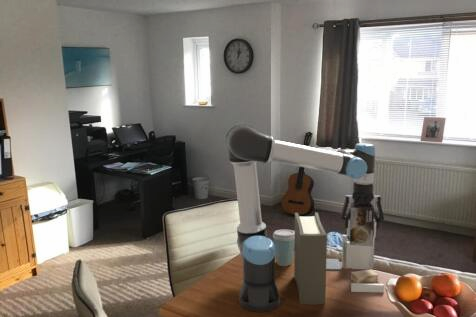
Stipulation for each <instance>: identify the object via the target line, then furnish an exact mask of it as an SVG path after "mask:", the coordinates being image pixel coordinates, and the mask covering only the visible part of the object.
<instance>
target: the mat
mask: <svg viewBox="0 0 476 317" xmlns="http://www.w3.org/2000/svg"><path fill="white" fill-rule="evenodd" d="M326 271H342V265H341V263H340V260H339V258H326Z"/></svg>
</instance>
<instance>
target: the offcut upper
mask: <svg viewBox="0 0 476 317" xmlns="http://www.w3.org/2000/svg"><path fill="white" fill-rule="evenodd" d="M350 274H351V275H350V277H351V279H352V280H353V281H354V282H355V283H369V282H375V281H379V273H377V272H376V271H374V269H362V270H358V271H352V272H350Z"/></svg>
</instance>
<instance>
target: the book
mask: <svg viewBox="0 0 476 317" xmlns="http://www.w3.org/2000/svg"><path fill="white" fill-rule="evenodd" d="M319 214H320V213H319V212H314V215H313V216H301V215H299V212H294V231H295V247H294V256H293V257H294V262H293V263H294V265H293V266H294V267H293V268H294V274H293V275H294V276H295V277H294V279H295V282H296V286H297V290H298V298H299V304H303V305H321V304H323V305H324V304H326V294H327V292H326V290H327V288H326V287H327V270H326V259H327V255H328V254H327V252H328V251H327V250H328V249H327V248H328V246H327V244H328V241H327V240H328V234H327V233H326V232H327V231H326V230H325V229H324V227H323V224H322V221H321V220H320V215H319Z"/></svg>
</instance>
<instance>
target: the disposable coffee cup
mask: <svg viewBox="0 0 476 317" xmlns="http://www.w3.org/2000/svg"><path fill="white" fill-rule="evenodd" d="M272 239H273V243H274V247H275V262H276V263H277V265H278V266H282V267H288V265H289V266H290V265H292V262H293V257H294V254H295V230H291V229H283V228H282V229H277V230H275V231H274V232H273V233H272Z"/></svg>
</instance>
